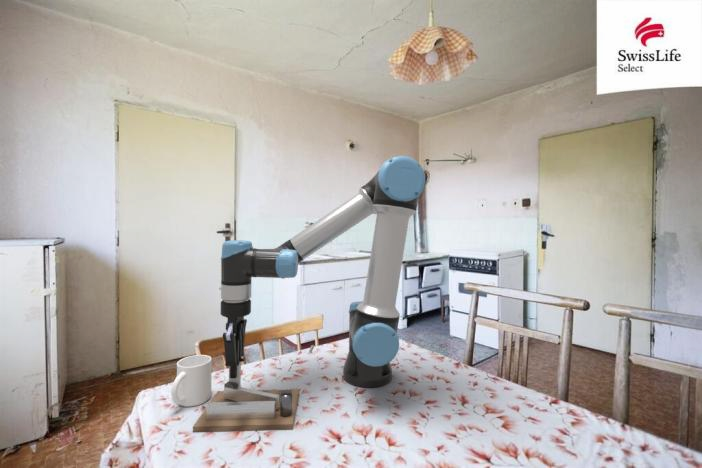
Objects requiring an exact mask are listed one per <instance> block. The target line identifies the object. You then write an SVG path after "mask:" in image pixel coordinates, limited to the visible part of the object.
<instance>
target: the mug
mask: <svg viewBox="0 0 702 468" xmlns="http://www.w3.org/2000/svg"><path fill="white" fill-rule="evenodd" d="M212 364H213V363H212V356H210V355H205V354H195V355H194V354H193V355H189V356H186V357H185V356H184V357H183V358H181V359H180V360H178V361H177V362H176V377H175V379H174V381H173V383H172V387H171V399H172V402H173V403H174V404H176V405H177V404H178V405H179V406H181V407H186V408H187V407H188V408H189V407H190V408H192V407H195V406H200V405H202V404H205V403H206V402H207V401H208V400H209V399H210V398H211V396H212V368H213V367H212Z"/></svg>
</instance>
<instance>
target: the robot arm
mask: <svg viewBox="0 0 702 468" xmlns="http://www.w3.org/2000/svg"><path fill="white" fill-rule="evenodd" d="M425 185H426V175H425V171H424V168H423V167H422V166H421V164H420V163H419V162H418V161H417V160H416V159H414V158H412V157H410V156H405V155H399V156H398V155H397V156H394V157H392V158H390V159H387V160H386V161H385V162H384V163H382V165H381V166H380V168H379V170H378V171H377V172H376V174H375V175H374V176H373V177H371V179H369V181H368V182H367V183H365V184H364V185H363V186H361V187H360V188H359V190H358V193H356V194H355V195H353V196H352V197H351V198H349V199H348V200H346V201H345V202H343V203H342V204H339V205H338V206H337V207H336V208H334V209H333V210H330V212H328V213H327V214H326V215H324V216H322V217H321V218H319V219H318V220H316V221H315V222H313V223H312V224H310V225H309V226H307V227H306V228H304V229H303V230H301V231H300V232H299V233H297V234H295V235H294V236H293V237H291V238H289V239H288V240H286V241H285V242H283V243H282V244H280V245H279V246H277V247H276V248H275V247H274V248H256V247H254V246H253V243H252V241H250V240H241V239H240V240H238V239H236V240H235V239H234V240H226V241H223V243H222V245H221V246H222V247H221V257H220V260H221V261H220V263H221V265H220V267H221V269H220V273H221V274H220V276H221V279H220V286H219V288H218V289H219V290H220V299H221V301H220V315H221V316H222V317H224V318H226V319H227V321H226V323H225V331H226V332H223V334H222V339H223V341H224V342H223V344H224V345H223V346H224V358H225V363H224V365H225V366H226V367H228V381H230V382H234V383H238V387H242V386H241V384H242V383H241V381H242V379H241V378H242V377H241V376H242V374H241V373H242V370H241V369H242V363H244V362H245V358H242V357H244V355H245V353H244V351H245V339H246V338H245V337H246V328H247V323H248V320H247V318H245V317H247V316H249V315H250V314H251V312H252V300H251V298H252V279H253V278H270V279H271V278H272V279H273V278H274V279H283V280H284V279H287V278H288V279H292V278H296V277H297V275H298V270H299V264H300V263H301V262H302V261H304V260H305V259H307V258H309V257H311V255H313V254H314V253H316V252H317V251H319V250H321V249H322V248H323V247H325V246H326V245H328V244H329V243H331V242H332V241H334V240H335V239H337V238H339V237H340V236H342V235H344V233H346V232H347V231H349V230H350V229H351V228H353V227H355V226H356V225H358V224H359V223H360V222H362V221H364V220H365V219H367V218H369V217H370V216H371V215H376V218H375V225H374V232H373V236H372V237H373V238H372V243H371V250H370V257H369V264H368V268H367V275H366V280H365V281H366V282H365V286H364V287H365V288H364V293H363V294H364V295H363V300H362V301H354V302H351V303H350V305H349V310H348V314H349V317H348V318H349V320H348V321H349V323H348V324H349V325H348V330H349V331H348V332H349V336H348V337H349V338H348V339H349V340H348V353H347V356H346V359H345V361H344V365H343V369H342V374H343V375H342V377H343V379H344V380H345V381H346V383H348V384H350V385H353V386H356V387H361V388H377V387H378V388H379V387H383V386H385V385H387V384H390V382H391V381H392V379H393V368H392V365H391V362H392V361H393V360H394V359H395V358H396V356H397V354H398V353H399V349H400V339H399V338H400V337H399V335H398V328H399V321H400V315H401V314H400V312H399V311H398V309H397V308H396V305H397V304H396V303H397V297H398V291H399V286H400V285H399V284H400V277H401V272H402V265H403V259H404V253H405V247H406V246H405V245H406V241H407V236H408V235H407V234H408V228H409V227H408V226H409V221H410V218H411V217H412V216H414V215H415V214H416V213H417V209H418V201H419V197H420V195H421V194H422V192H423V190H424V187H425Z"/></svg>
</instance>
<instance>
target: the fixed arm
mask: <svg viewBox="0 0 702 468" xmlns="http://www.w3.org/2000/svg"><path fill="white" fill-rule="evenodd" d="M275 406H276V401H251V402H210V401H209V402H208V403H207V404H206V407H205V409H206V420H230V419H270V418H275ZM291 415H292V391H281V394H280V416H281V417H290V416H291Z"/></svg>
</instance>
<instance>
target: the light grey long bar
mask: <svg viewBox="0 0 702 468" xmlns="http://www.w3.org/2000/svg"><path fill="white" fill-rule="evenodd" d="M223 385H224V386H223V391H224V399H229V400H233V401H237V402H251V401H276V406H275V410H277V409H278V408H279V395H277V394H272V393H267V392H262V391H257V389H253V388H248V387H247V388H246V387H243V386H240V387H238V383H234V382H230V381H229V380H228V381H227V382H225V383H224V384H223Z"/></svg>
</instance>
